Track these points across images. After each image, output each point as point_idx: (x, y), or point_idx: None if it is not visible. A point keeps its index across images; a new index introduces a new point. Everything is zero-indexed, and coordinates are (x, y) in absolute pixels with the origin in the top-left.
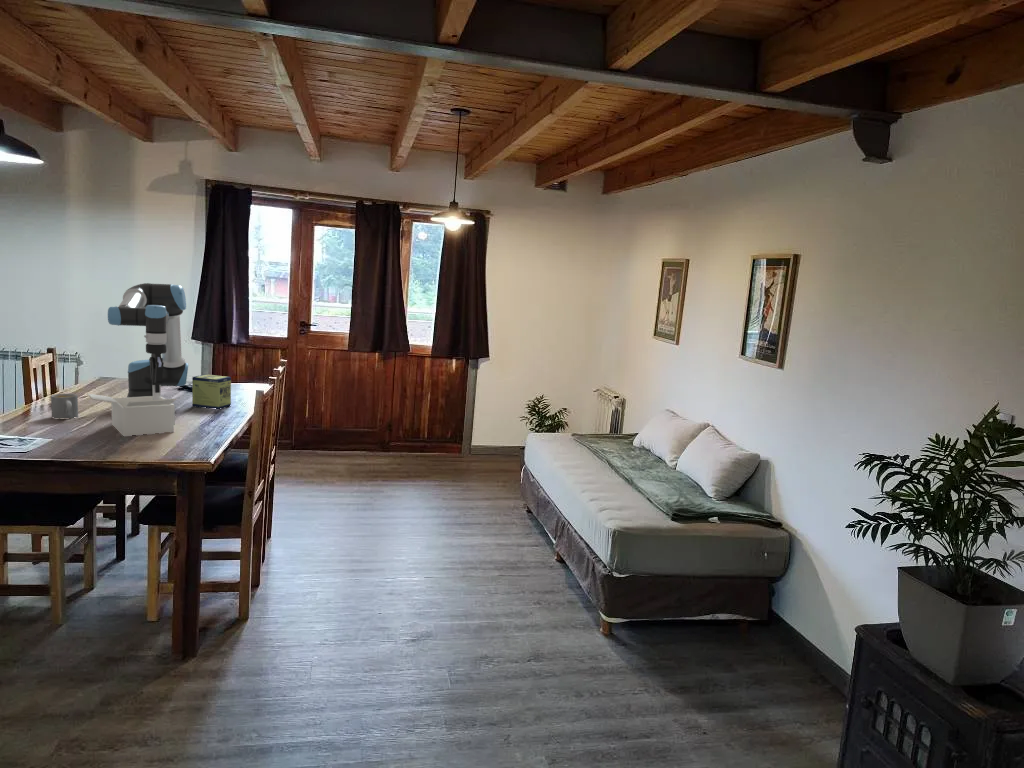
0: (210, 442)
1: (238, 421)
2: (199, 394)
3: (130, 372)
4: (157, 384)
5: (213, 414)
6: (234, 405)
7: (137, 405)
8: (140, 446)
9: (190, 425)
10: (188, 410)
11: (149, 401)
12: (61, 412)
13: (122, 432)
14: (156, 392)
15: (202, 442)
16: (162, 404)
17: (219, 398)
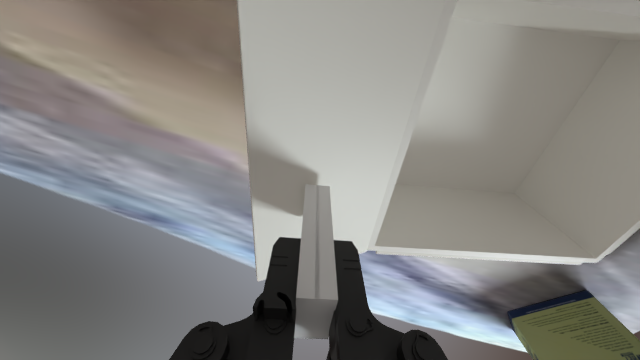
0: (181, 213)
1: (373, 305)
2: (596, 331)
3: None
4: (239, 328)
5: (473, 295)
6: (513, 335)
7: (400, 90)
8: (173, 6)
9: None
10: (560, 274)
11: (253, 147)
12: None
13: None
14: (279, 243)
15: (186, 198)
16: (511, 234)
17: (526, 341)
